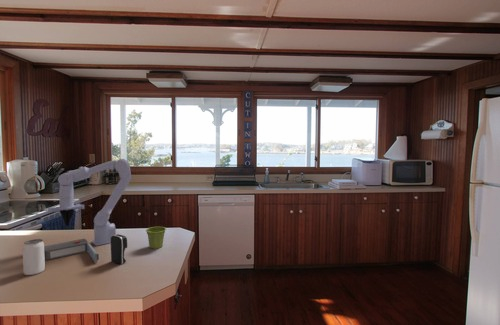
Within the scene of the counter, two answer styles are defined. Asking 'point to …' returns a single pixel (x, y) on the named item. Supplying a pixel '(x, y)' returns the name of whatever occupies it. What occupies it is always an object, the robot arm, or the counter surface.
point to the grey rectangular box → (65, 249)
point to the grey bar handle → (92, 253)
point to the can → (33, 257)
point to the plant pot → (155, 236)
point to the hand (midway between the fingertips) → (66, 225)
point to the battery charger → (118, 248)
